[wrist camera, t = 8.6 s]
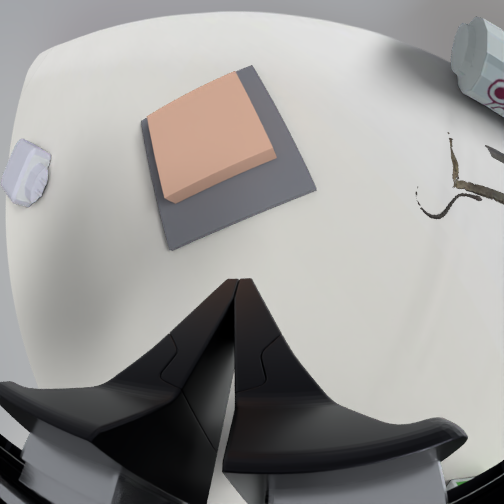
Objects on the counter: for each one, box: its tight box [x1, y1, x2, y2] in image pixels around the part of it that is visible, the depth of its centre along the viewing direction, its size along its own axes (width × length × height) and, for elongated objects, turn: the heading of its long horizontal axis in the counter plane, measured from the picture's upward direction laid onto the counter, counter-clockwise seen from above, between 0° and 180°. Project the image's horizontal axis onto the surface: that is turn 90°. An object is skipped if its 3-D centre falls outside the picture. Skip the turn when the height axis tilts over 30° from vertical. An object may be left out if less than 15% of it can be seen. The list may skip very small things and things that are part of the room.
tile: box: [147, 71, 277, 204], centre depth 24 cm, size 2×10×10 cm
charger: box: [1, 139, 51, 207], centre depth 31 cm, size 5×9×15 cm
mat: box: [141, 65, 317, 251], centre depth 25 cm, size 16×14×1 cm
